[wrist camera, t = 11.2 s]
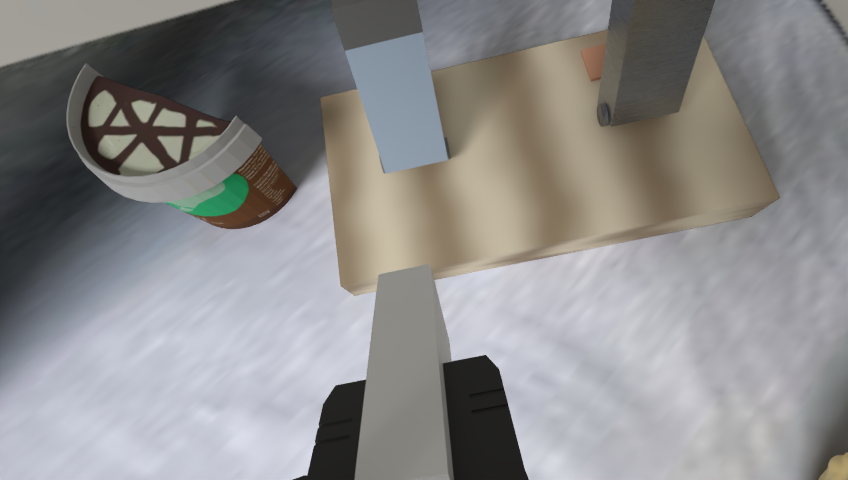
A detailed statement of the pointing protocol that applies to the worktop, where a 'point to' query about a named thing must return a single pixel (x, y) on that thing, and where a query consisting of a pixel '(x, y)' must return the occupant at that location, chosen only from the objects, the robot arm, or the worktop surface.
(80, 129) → the food container
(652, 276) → the worktop surface
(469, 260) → the switch board
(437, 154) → the lever
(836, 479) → the pale yellow wrinkled ball
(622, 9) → the lever
